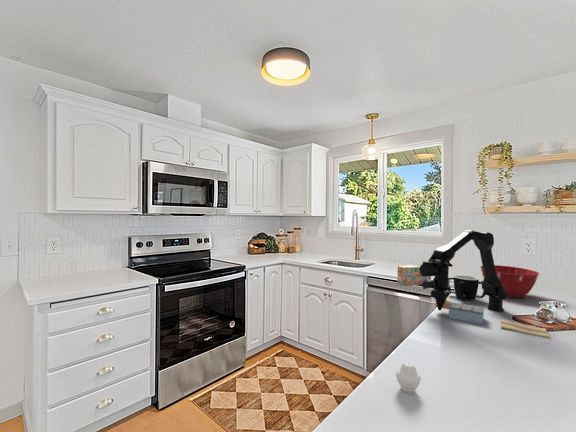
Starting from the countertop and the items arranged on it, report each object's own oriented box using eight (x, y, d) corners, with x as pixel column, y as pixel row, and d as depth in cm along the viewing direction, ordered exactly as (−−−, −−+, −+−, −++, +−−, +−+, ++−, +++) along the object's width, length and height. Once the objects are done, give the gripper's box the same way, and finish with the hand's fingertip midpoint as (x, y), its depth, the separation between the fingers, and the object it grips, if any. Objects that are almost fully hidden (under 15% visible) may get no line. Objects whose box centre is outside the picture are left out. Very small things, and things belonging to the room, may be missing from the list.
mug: (473, 295, 176) (473, 275, 175) (488, 303, 160) (489, 281, 159) (444, 293, 177) (444, 273, 177) (456, 301, 161) (457, 279, 161)
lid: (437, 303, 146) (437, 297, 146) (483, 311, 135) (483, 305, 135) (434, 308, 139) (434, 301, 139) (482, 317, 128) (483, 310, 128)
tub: (451, 312, 143) (451, 304, 143) (483, 318, 135) (483, 309, 135) (448, 317, 136) (448, 308, 135) (482, 324, 128) (483, 315, 128)
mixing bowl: (552, 302, 165) (553, 274, 165) (499, 300, 165) (500, 273, 165) (514, 289, 193) (515, 265, 193) (469, 288, 194) (470, 264, 193)
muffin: (414, 383, 82) (414, 357, 82) (425, 396, 76) (425, 369, 76) (391, 382, 82) (392, 357, 81) (400, 396, 75) (401, 369, 75)
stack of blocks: (424, 282, 206) (425, 265, 206) (431, 285, 200) (431, 266, 200) (397, 283, 201) (397, 265, 201) (402, 286, 195) (403, 267, 195)
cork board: (500, 321, 133) (501, 319, 133) (545, 329, 124) (545, 328, 124) (501, 328, 124) (501, 327, 124) (549, 338, 115) (549, 336, 115)
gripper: (426, 270, 154) (425, 300, 154) (419, 276, 138) (418, 310, 138) (451, 273, 147) (450, 305, 147) (446, 280, 132) (445, 315, 132)
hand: (440, 308), depth 141 cm, fingers open, 6 cm apart
